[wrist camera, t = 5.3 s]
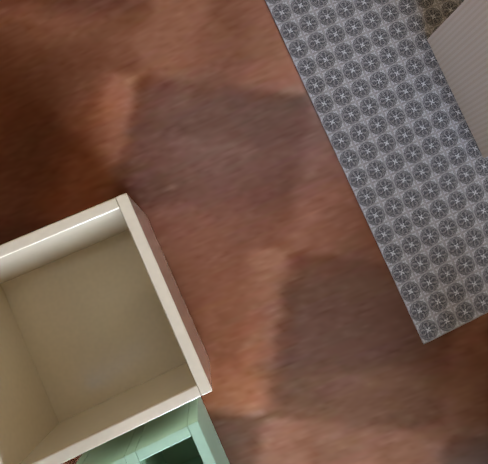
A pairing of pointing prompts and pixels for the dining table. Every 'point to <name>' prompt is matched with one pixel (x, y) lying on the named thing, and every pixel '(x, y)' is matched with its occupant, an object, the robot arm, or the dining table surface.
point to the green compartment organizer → (165, 441)
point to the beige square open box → (91, 335)
